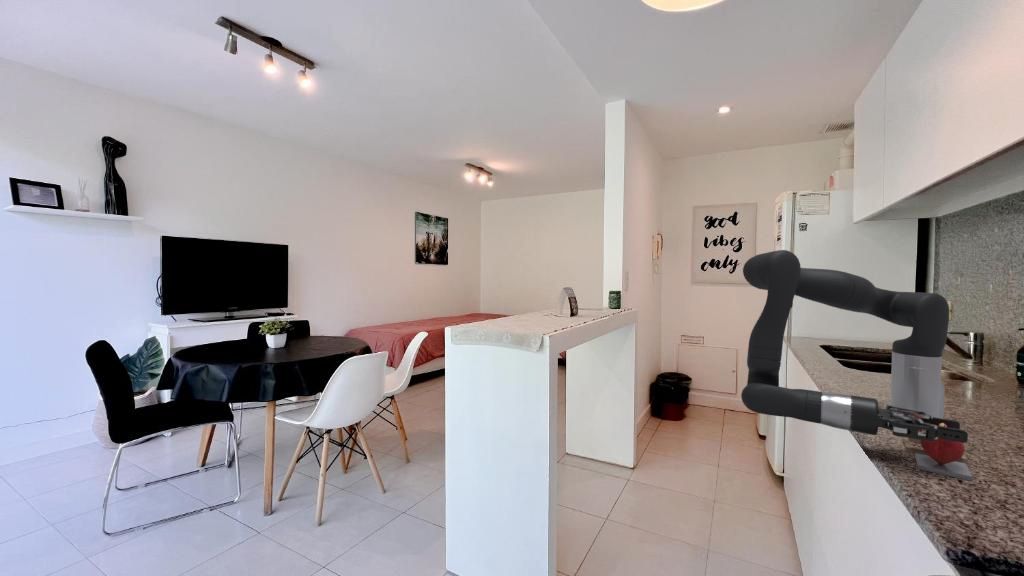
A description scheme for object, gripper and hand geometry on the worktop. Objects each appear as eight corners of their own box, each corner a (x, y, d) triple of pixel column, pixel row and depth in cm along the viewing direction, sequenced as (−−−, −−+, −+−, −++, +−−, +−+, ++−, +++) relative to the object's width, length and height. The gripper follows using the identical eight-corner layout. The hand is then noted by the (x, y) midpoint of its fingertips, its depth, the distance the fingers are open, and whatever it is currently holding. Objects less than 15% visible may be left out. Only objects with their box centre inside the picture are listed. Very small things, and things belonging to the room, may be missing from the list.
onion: (968, 474, 75) (970, 431, 75) (925, 466, 78) (927, 425, 78) (956, 461, 80) (958, 422, 80) (916, 454, 83) (917, 416, 83)
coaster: (914, 456, 84) (915, 453, 84) (965, 467, 79) (965, 463, 79) (918, 469, 79) (918, 464, 79) (972, 481, 74) (972, 476, 74)
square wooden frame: (902, 439, 93) (902, 434, 93) (959, 449, 88) (959, 445, 87) (906, 451, 87) (906, 446, 87) (967, 464, 81) (967, 459, 81)
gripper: (849, 403, 82) (974, 423, 71) (847, 388, 93) (955, 403, 83) (848, 439, 82) (972, 465, 72) (846, 420, 94) (953, 439, 83)
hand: (962, 431), depth 77 cm, fingers open, 5 cm apart
